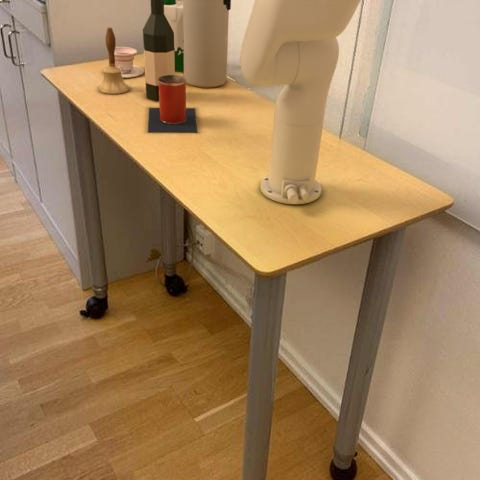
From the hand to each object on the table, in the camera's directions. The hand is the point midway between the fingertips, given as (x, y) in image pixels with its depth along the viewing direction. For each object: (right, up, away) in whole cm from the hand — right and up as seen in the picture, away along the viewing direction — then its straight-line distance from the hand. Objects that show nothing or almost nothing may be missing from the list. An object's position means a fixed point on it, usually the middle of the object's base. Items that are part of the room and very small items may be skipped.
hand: (250, 9), depth 126 cm
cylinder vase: (-13, +2, +46) cm, 48 cm away
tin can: (-19, -17, +22) cm, 34 cm away
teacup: (-37, +6, +49) cm, 62 cm away
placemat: (-19, -17, +22) cm, 34 cm away
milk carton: (-22, +10, +54) cm, 59 cm away
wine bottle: (-24, -6, +35) cm, 43 cm away
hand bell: (-38, -4, +37) cm, 53 cm away
